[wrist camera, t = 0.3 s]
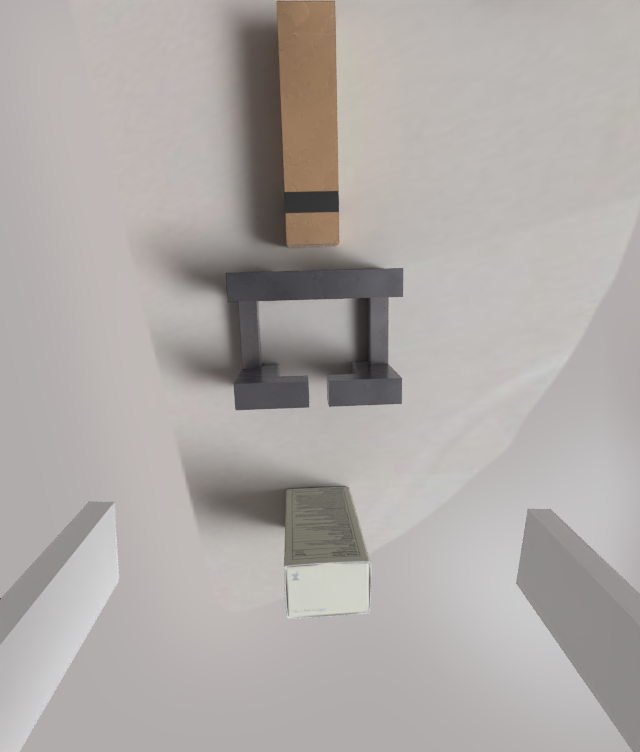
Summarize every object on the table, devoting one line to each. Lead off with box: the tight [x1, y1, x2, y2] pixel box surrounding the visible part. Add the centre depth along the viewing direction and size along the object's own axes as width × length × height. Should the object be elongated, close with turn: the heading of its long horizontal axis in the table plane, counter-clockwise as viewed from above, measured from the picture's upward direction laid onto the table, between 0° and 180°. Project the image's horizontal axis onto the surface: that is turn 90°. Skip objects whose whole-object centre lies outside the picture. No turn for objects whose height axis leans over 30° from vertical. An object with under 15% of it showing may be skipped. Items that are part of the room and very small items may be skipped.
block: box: [277, 1, 339, 247], centre depth 35 cm, size 16×4×4 cm, turn 2°
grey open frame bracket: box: [226, 268, 403, 410], centre depth 37 cm, size 10×12×7 cm
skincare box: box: [284, 487, 371, 618], centre depth 38 cm, size 6×4×12 cm
